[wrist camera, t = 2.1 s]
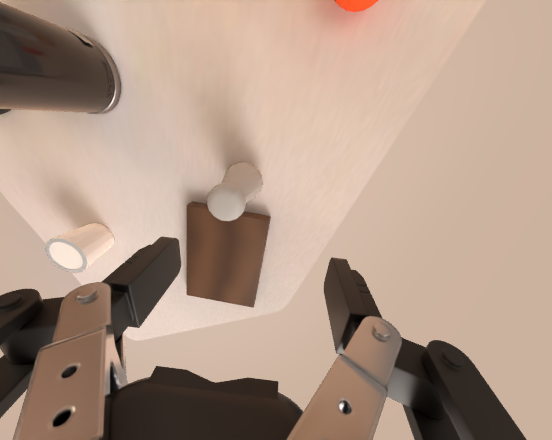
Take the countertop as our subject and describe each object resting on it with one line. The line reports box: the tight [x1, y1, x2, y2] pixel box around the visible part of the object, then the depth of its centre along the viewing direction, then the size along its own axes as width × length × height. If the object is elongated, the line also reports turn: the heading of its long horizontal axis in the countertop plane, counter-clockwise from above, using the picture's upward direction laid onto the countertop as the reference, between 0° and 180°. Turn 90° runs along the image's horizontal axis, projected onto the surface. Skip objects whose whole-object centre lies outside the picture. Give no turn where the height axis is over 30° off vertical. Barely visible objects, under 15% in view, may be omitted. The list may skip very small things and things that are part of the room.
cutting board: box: [187, 202, 271, 307], centre depth 41 cm, size 14×20×2 cm
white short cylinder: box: [45, 223, 114, 273], centre depth 39 cm, size 7×7×7 cm
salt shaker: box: [207, 162, 263, 221], centre depth 29 cm, size 6×6×13 cm
